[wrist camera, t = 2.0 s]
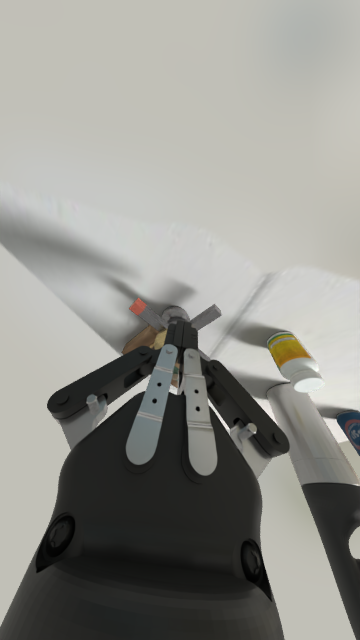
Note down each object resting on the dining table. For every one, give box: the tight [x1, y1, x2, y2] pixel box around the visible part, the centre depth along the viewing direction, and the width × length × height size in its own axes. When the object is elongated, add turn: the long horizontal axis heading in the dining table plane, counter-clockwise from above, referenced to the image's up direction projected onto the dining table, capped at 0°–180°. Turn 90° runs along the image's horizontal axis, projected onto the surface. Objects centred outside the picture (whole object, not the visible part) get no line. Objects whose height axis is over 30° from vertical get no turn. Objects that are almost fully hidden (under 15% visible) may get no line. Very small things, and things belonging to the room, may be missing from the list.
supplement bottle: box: [267, 332, 325, 393], centre depth 26 cm, size 5×5×10 cm
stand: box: [122, 325, 180, 388], centre depth 34 cm, size 18×10×5 cm, turn 44°
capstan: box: [129, 298, 222, 361], centre depth 26 cm, size 17×17×7 cm
